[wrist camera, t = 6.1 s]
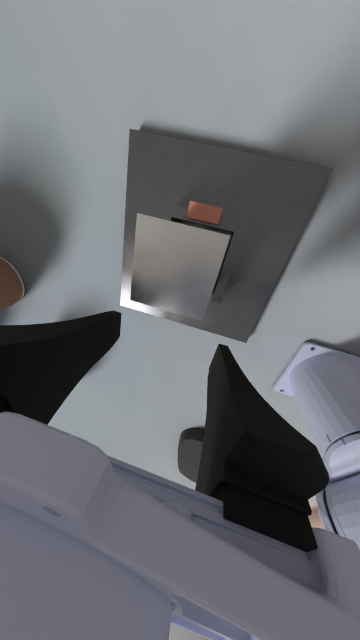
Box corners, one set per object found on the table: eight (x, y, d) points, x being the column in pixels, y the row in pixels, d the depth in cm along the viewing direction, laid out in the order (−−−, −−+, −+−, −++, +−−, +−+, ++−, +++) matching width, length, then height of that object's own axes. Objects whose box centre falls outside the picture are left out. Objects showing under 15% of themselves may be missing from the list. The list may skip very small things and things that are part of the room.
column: (227, 236, 13) (233, 233, 7) (210, 288, 15) (204, 323, 9) (174, 223, 13) (135, 209, 7) (165, 276, 15) (128, 301, 9)
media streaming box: (251, 482, 34) (254, 502, 32) (181, 464, 37) (178, 481, 34) (266, 439, 28) (271, 460, 25) (180, 422, 31) (176, 439, 28)
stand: (325, 173, 13) (371, 143, 9) (245, 338, 21) (251, 362, 17) (135, 135, 15) (102, 95, 11) (124, 302, 22) (102, 316, 18)
